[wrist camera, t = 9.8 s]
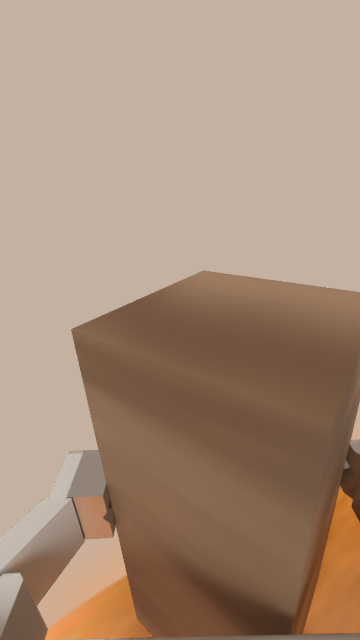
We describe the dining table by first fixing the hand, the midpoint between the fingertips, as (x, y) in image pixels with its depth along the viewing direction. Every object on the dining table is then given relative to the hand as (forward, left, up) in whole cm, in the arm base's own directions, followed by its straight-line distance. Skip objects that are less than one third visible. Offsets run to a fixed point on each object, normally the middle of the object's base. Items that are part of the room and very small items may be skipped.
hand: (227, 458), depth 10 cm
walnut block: (+1, +1, -7) cm, 7 cm away
